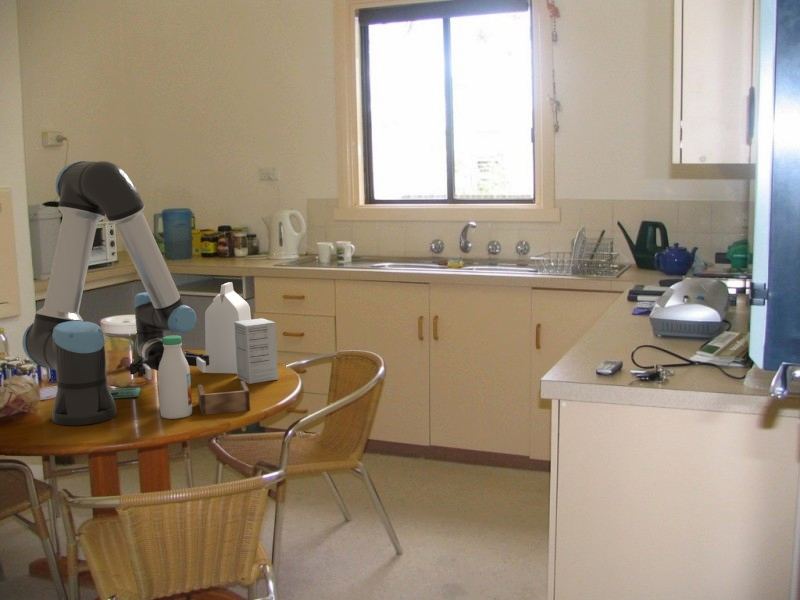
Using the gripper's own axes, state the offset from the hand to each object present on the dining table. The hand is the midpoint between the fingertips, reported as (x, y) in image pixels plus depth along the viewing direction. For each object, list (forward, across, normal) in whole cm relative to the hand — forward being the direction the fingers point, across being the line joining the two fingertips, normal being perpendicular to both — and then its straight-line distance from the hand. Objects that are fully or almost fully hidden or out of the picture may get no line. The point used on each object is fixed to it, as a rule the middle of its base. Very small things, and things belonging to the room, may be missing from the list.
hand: (177, 370), depth 223 cm
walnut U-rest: (-1, -11, -11) cm, 16 cm away
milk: (-41, -25, -11) cm, 49 cm away
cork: (-58, -2, -11) cm, 60 cm away
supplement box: (-24, -28, -11) cm, 39 cm away
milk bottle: (+1, +1, -11) cm, 11 cm away
